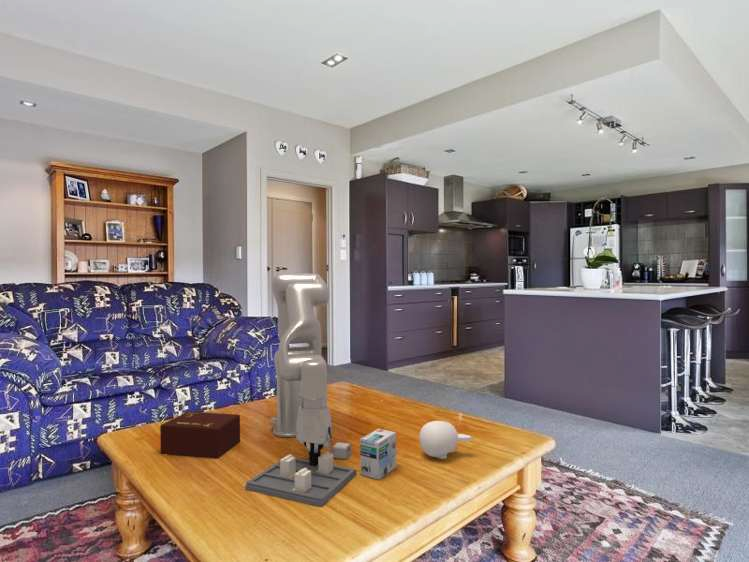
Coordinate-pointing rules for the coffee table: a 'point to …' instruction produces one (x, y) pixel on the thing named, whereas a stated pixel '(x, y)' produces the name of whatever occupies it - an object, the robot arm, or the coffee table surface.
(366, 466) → the light bulb box
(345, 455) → the usb wall charger
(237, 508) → the coffee table surface
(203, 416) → the box
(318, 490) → the switch bank
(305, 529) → the coffee table surface
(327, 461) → the tab
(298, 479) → the tab
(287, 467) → the tab
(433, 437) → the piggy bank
